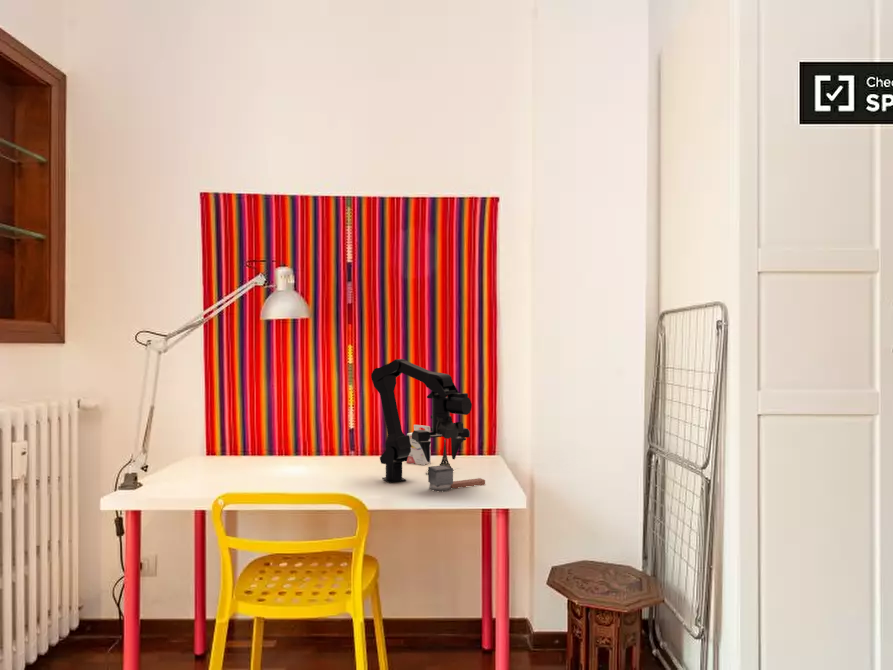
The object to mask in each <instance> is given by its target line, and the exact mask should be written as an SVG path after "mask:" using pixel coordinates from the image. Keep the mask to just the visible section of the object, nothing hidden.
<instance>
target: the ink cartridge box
mask: <svg viewBox="0 0 893 670" xmlns="http://www.w3.org/2000/svg"><path fill="white" fill-rule="evenodd" d="M421 429H423V430H425V431H428V432H431V426H429V425H421V424H413V431H415V430H421ZM412 433H413V432H408V433H406V436H407V435H409V437H410V443H411V446H412V447H411V452H410V454H409V456H408V459H407V461H406V463H407V464H411V463H415V464H414V465H418V464H421V465H420V466H425V464H427V465H429V464H428V463H430V464H431V457H432V455H431V454H432V452H431V450H432V447H431V445H432V442H431V441H432V440H431V439H432V438H430V439H429V441H430V442H431V443H430V462H427V460H426V457H425V455H424V452H423V450H422V448H421V446H420V444H419V442H416V440H413V439H412Z"/></svg>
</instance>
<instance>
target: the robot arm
mask: <svg viewBox="0 0 893 670" xmlns="http://www.w3.org/2000/svg"><path fill="white" fill-rule="evenodd" d="M401 374H403V375H404V376H405V375H406V376H408V377H410V378H412V379H414V380H417V381H420V382H421V383H423V384H424V385H425V387H426V388H427V389H428V390H430V391H431V392H430V393H429V394H428V395H427V396H426V398H427V399H432V400H431V402H432V403H431V404H432V406H431V407H432V414H431V415H430V419H432V423H431V425H432V427H430V432H428V431H425V429H420V430H415V431H414V430H413V433H412V432H411V433H412V439H413V440H416V442H419V444H420V446H421V448H422V450H423V452H424V455H425V457H426V460H427V462H430V443H431V444H432V442H430V441H429V439H430V438H431V439H432V438H444V439H445V440H446V439H447V440H448V439H450V449H451V458H452V460H455V459H456V457H457V453H458V451H459V449H460V446H461V444H462V443H463V442H464V441H466V440H467V438H470V437H471V431H470V429H468V428H467V427H464V423H463V422H462V421H456V422H453V418H452V417H453V416H451V415H452V414H453V415H464V416H467V415H469V414H470V413H471V411H472V409H473V408H472V407H473V405H472V404H473V403H472V401H471V398H470V397H469V395H468V394H469V393H466V392H464V393H462V392H461V393H460V392H459V390H458V388H457V386H456V385H455V382H454V381H453V378H452V376H451V375H450V374H448V373H443V372H437V371H431V370H428V369H427V368H424V367H421V366H420V365H417V364H414V363H412V362H410V361H408V360H406V359H405V358H396V359H394V360H392V361H390V362H388V363H386V364H384V365H382V366H380V367H376V368H374V369H373V370H372V372H371V374H370V375H371V376H370V377H371V381H372V384H373V387H374V388H375V390H376V391H377V392H378V394H379V396H380V401H381V406H382V411H383V412H382V413H383V415H384V421H385V426H386V431H387V437H386V440H385V451H384V452H383V453H382V455H380V456H379V461H380V464H381V465H382V464H383V465H385V476H384V477H382V478H381V480H382V481H384V482H387V483H388V482H389V483H390V482H391V483H397V482H398V483H399V482H406V481H407V478H404V477H403V462H404V463H405V462H407V459H408V456H409V454H410V452H411V447H412V446H411V443H410V437H409V435H407V434H406V435H405V434H404V432H403V429H402V426H401V425H402V424H401V419H400V415H399V410H398V406H397V405H398V404H397V400H396V395H395V388H396V385H397V378H398V377H399V376H401Z"/></svg>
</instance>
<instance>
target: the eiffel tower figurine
mask: <svg viewBox="0 0 893 670" xmlns="http://www.w3.org/2000/svg"><path fill="white" fill-rule="evenodd" d="M446 443H447V440H446V439H444V440H443V453H442V458H441V462H440V463H439V466H441V465H446V466H448V467H451V468H453V467H452V466H451V463H450V462H449V460H448V454H447V444H446ZM453 471H455V469H453Z"/></svg>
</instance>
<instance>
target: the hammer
mask: <svg viewBox="0 0 893 670" xmlns="http://www.w3.org/2000/svg"><path fill="white" fill-rule="evenodd" d="M484 484H485V485H486V480H485V479H483V478H481V477H480V478H479V477H478V478H471V479H470V478H469V479H463V480H453V484H448V485H439V486H436V485H434V484H432V483H429V490H430V489H431V490H430V491H432V490H434V491H433V492H437V491H439V493H440V492H441V493H442V491H443V492H449V491H451V490H452V489H451V488H455V489H459V488H458V487H463V488H467V487H466V486H472V487H475V486H474V485H480V486H485V485H484Z"/></svg>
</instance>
